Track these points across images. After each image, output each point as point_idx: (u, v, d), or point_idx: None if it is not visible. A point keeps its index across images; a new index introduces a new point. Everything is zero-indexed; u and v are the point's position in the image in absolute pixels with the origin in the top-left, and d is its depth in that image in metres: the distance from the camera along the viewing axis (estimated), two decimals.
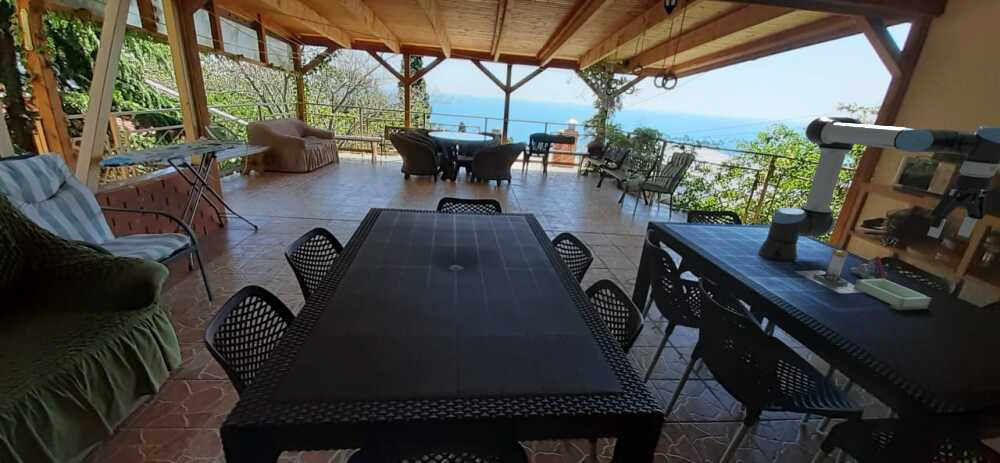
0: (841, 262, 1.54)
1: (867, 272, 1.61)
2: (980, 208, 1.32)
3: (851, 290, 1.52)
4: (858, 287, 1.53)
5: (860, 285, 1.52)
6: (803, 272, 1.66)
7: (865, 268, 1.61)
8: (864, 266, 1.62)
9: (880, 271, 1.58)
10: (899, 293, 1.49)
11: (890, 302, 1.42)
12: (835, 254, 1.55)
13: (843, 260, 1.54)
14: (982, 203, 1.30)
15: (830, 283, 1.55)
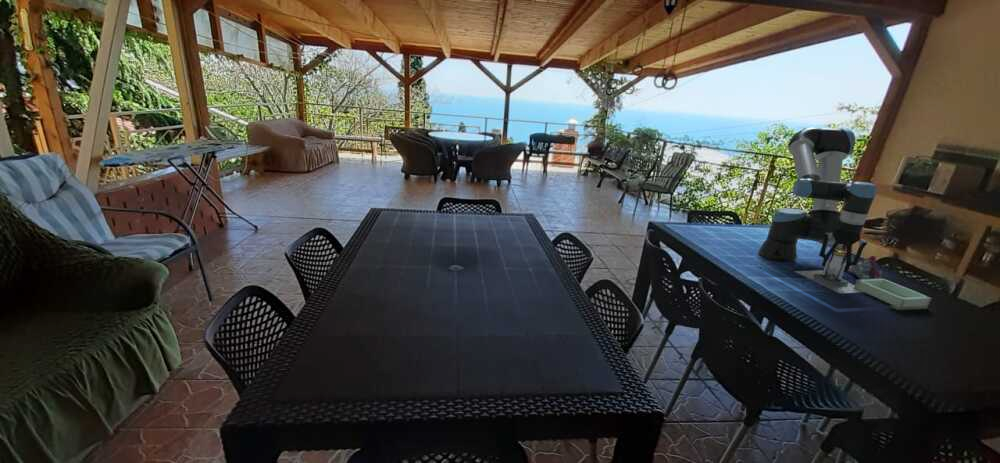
0: (841, 262, 1.54)
1: (862, 271, 1.62)
2: (855, 256, 1.51)
3: (851, 290, 1.52)
4: (858, 287, 1.53)
5: (860, 285, 1.52)
6: (803, 272, 1.66)
7: (860, 267, 1.62)
8: (859, 265, 1.63)
9: (874, 270, 1.59)
10: (899, 293, 1.49)
11: (890, 302, 1.42)
12: (835, 254, 1.55)
13: (842, 260, 1.54)
14: (857, 251, 1.50)
15: (830, 283, 1.55)
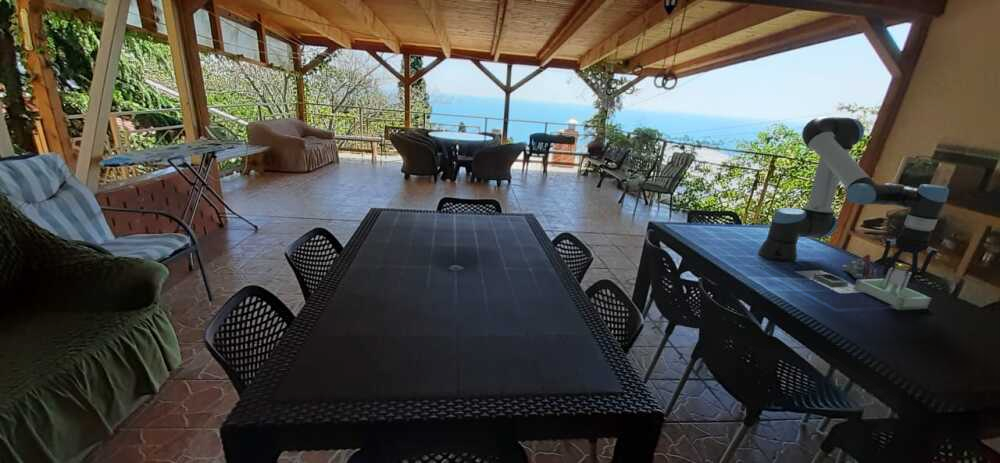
0: (903, 277, 1.43)
1: (856, 269, 1.64)
2: None
3: (851, 290, 1.52)
4: (858, 287, 1.53)
5: (860, 285, 1.52)
6: (803, 272, 1.66)
7: (854, 265, 1.64)
8: (853, 263, 1.64)
9: (868, 268, 1.60)
10: None
11: (890, 302, 1.42)
12: (897, 268, 1.43)
13: (905, 275, 1.42)
14: (925, 259, 1.38)
15: (830, 283, 1.55)
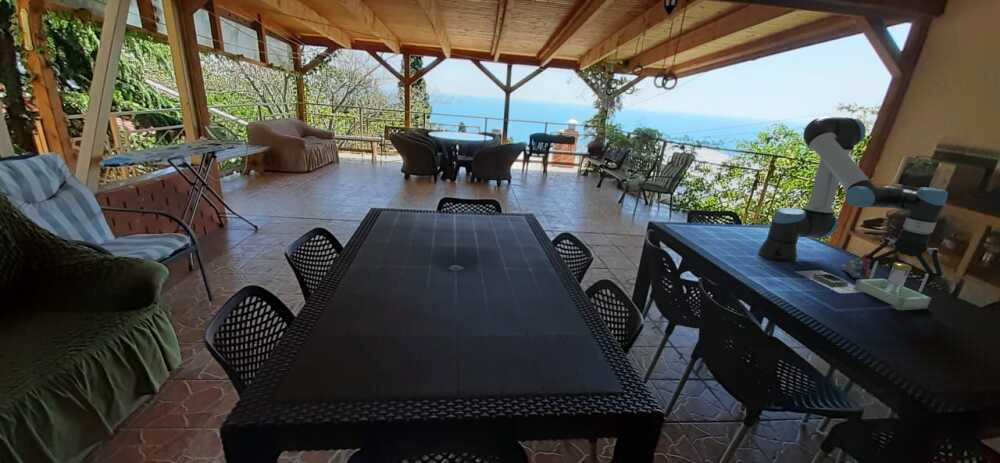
0: (903, 277, 1.43)
1: (854, 269, 1.64)
2: None
3: (851, 290, 1.52)
4: (858, 287, 1.53)
5: (860, 285, 1.52)
6: (803, 272, 1.66)
7: (852, 264, 1.64)
8: (851, 263, 1.65)
9: (866, 268, 1.61)
10: None
11: (890, 302, 1.42)
12: (897, 268, 1.43)
13: (905, 275, 1.42)
14: (933, 261, 1.37)
15: (830, 283, 1.55)
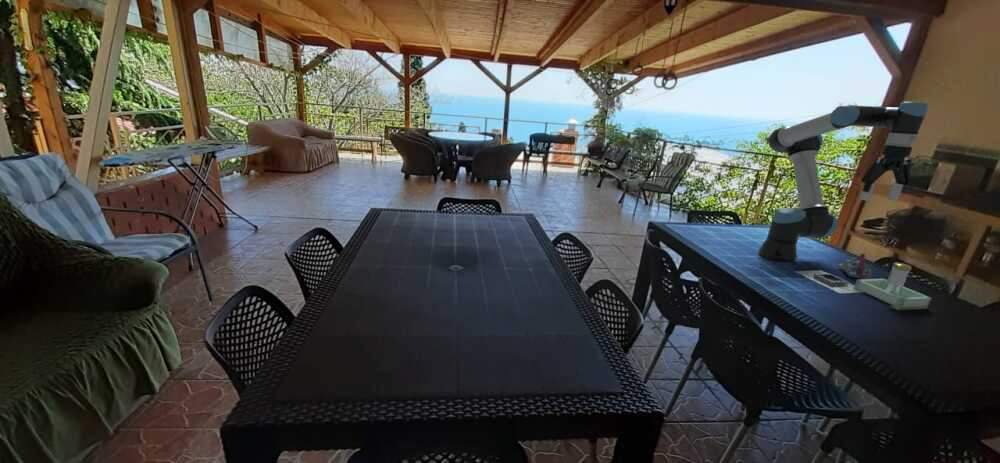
0: (903, 277, 1.43)
1: (850, 268, 1.65)
2: (905, 175, 1.50)
3: (851, 290, 1.52)
4: (858, 287, 1.53)
5: (860, 285, 1.52)
6: (803, 272, 1.66)
7: (848, 263, 1.65)
8: (848, 262, 1.66)
9: (862, 267, 1.62)
10: None
11: (890, 302, 1.42)
12: (897, 268, 1.43)
13: (905, 275, 1.42)
14: (906, 170, 1.49)
15: (830, 283, 1.55)
